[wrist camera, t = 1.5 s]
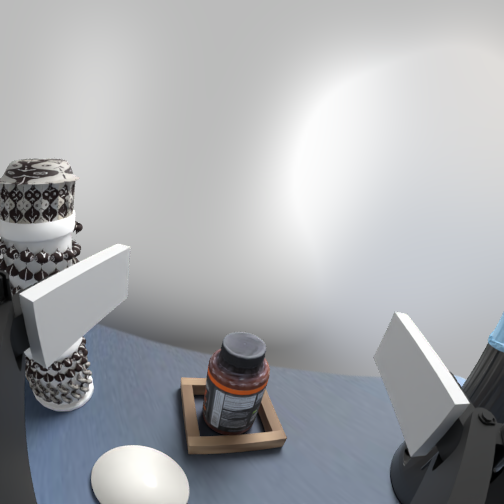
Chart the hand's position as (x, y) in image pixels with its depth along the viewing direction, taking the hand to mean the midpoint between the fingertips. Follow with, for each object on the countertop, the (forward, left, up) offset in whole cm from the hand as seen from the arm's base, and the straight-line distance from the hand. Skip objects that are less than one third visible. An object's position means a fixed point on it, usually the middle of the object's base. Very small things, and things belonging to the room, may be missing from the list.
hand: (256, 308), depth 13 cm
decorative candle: (+17, -12, -20) cm, 29 cm away
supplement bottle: (-3, -9, -20) cm, 23 cm away
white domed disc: (+7, 0, -20) cm, 21 cm away
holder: (-3, -9, -20) cm, 22 cm away
